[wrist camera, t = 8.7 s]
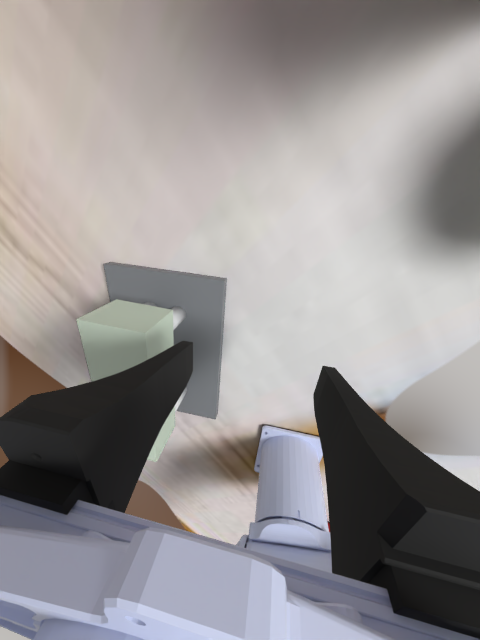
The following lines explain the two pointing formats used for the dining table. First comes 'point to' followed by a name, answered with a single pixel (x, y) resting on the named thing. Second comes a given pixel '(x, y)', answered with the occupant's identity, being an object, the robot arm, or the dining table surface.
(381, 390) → the dining table surface
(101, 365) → the pale green block
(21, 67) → the dining table surface
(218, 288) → the peg stand
